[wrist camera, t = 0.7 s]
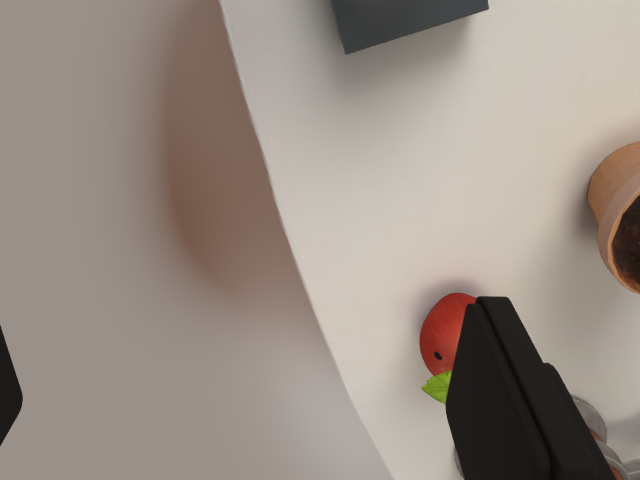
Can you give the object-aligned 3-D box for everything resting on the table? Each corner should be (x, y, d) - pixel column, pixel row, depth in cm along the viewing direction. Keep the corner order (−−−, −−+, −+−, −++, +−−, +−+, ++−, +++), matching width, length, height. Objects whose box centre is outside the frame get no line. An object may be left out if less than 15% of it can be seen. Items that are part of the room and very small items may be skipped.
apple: (499, 270, 42) (550, 362, 33) (494, 338, 46) (538, 438, 37) (398, 279, 42) (422, 373, 34) (400, 346, 46) (422, 447, 37)
